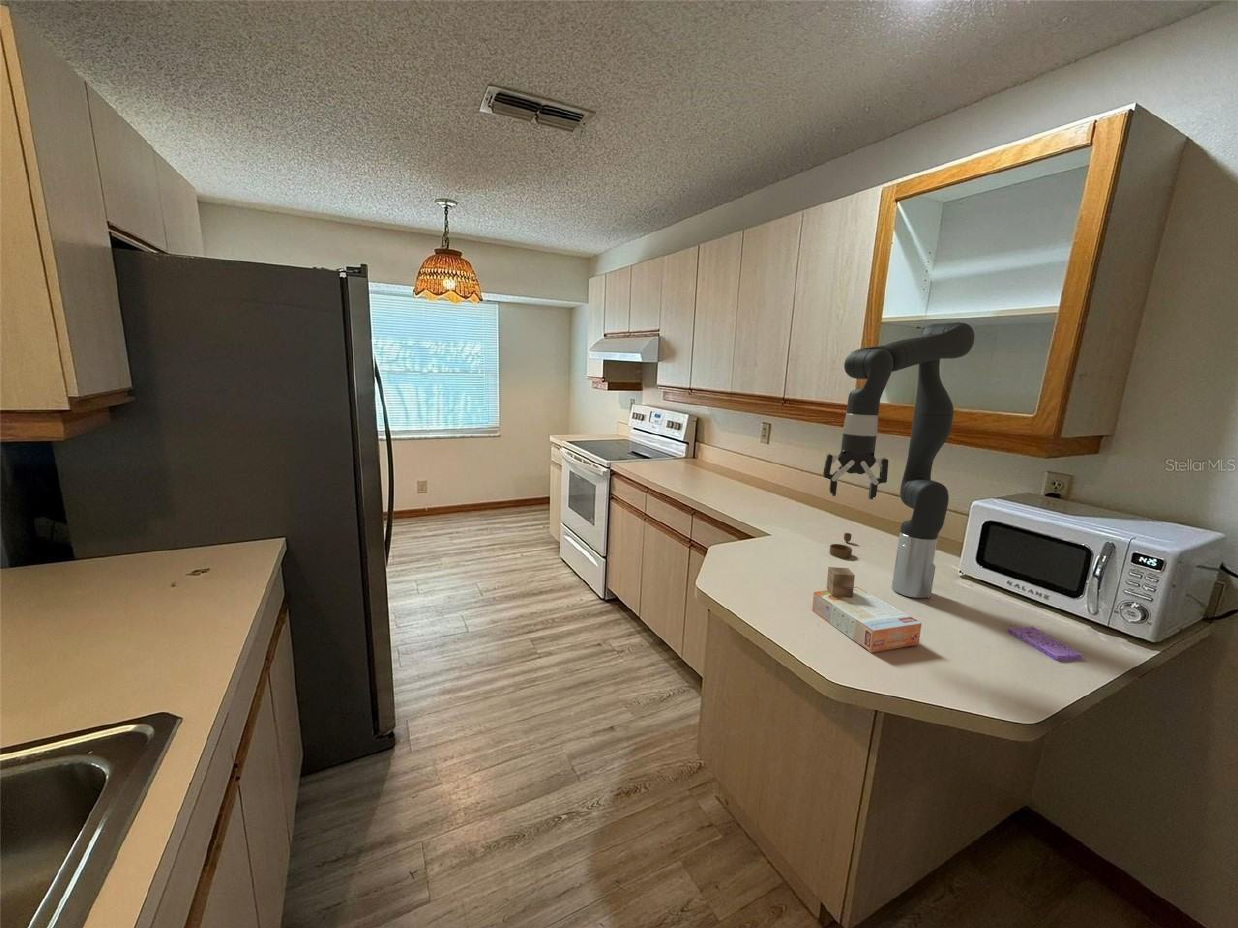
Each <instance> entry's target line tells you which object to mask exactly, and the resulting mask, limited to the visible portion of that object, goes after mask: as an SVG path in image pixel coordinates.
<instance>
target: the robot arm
mask: <svg viewBox="0 0 1238 928" xmlns="http://www.w3.org/2000/svg"><path fill="white" fill-rule="evenodd" d="M974 343H975V331H974V329H973V327H972V326H971V325H970V324H968V323H965V322H959V321H958V322H956V321H955V322H942V323H932V324H929V325H926V327H925V328H923V331H922V333H921V336H919V337H911V338H904V339H901V340H896V341H892V342H889V343H886V344H884V345H879V346H872V347H871V346H870V347H864V348H858V349H855V350H854V351H851V352H850V353H849V354H848V355H847V357H846V358H845V360H844V364H843V366H844V371H845V373H846V374H847V376H849V377H850V378H852V379H855V380H866V381H865V383H864V385H863V387H860V388H858V389H857V388H856V389H853V390H851V391H850V392H849V394H848V396H847V397H848V400H847V403H846V404H847V405H846V414H845V418H844V421H843V422H844V423H843V428H842V429H843V430H842V439H841V446H840V453H839V454H832V453H827V454H826V456H825V461H824V466H823V473H822V474H823V477H824V478H825V479H828V480H830V481H829V482H830V483H829V489H828V490H829V493H830V494H831V496H832V497H836V495H837V487H838V481H837V480H839V478H840V477H842V476H843V475H844V474H846V473H848V474H851V475H852V474H857V475H863V474H865V475H866V476H867V477H868V479H869V480H870V482H869V488H868V489H869V490H868V495H867V496H868V500H874V498H876V496H877V494H878V493H877V492H878V488H879V487H878V486H879V485H880V484H886V483H887V482H888V469H889V460H888V458H886V457H881V458H879V457H875V452H876V445H877V438H878V437H877V436H878V433H879V430H878V429H879V428H878V427H879V413H880V406H881V405H880V404H881V398H882V396H883V393H884V391H885V388H886V387H887V384H888V381H889V380H890V377H891V374H892V373H893V372H896V371H901V370H904V369H907V368H910V367H912V366H916V365H918V373H917V374H918V376H917V377H918V378H917V386H916V387H917V388H916V397H915V404H914V409H913V416H912V423H911V424H912V425H911V433H910V441H909V446H908V447H909V448H908V454H907V459H906V464H905V467H904V468H905V469H904V472H903V477H902V479H901V483H900V489H899V495H900V500H901V501H902V503H903V504H904V505H905V506H907V507H909V508H910V509H913V512H912V516H911V519H910V520H909V519H908V520H904V521H902V522H901V524H900V529H899V535H898V536H899V537H898V543H897V549H896V554H895V555H896V556H895V563H894V570H893V576H892V581H891V589H892V590H893V591H894V592H895V593H898V594H900V595H903V596H905V597H909V598H910V597H911V598H915V599H924V598H927V599H928V598H929V599H930V598H931V597H932V590H933V585H934V579H935V573H936V572H935V571H936V565H935V564H934V561H935V557H936V550H937V543H938V537H939V533H940V531H941V530H942V529H943V527H944V524H945V519H946V516H947V510H948V505H949V498H950V497H949V496H950V495H949V491H948V489H947V487H946V486H945V485H944V484H942V483H941V482H939V481H936V480H932V478H931V476H932V469H933V463H934V460H935V458H936V456H937V455H938V453H939V452H940V451H941V449H942V447H943V446H944V445H945V443H946V442H947V441H948V438H949V436H950V435H951V430H952V425H953V418H954V411H955V410H954V405H953V401H952V400H951V397H950V396H949V394H948V391H947V390H946V388H945V386H944V384H943V382H942V378H941V375H940V364H941V363H940V362H941V359H944V360H946V359H950V360H951V359H958V358H962V357H964V356H966V355H968V354H969V353H970V351H971V350H972V348H973V346H974ZM836 461H838V462H839V464H840V466H839V467H837V469H836V470H835V471H834V472H833V473H831V470H832V464H835V463H836ZM876 464H877V466H878V467H879V477H876V476H875V473H873V471H872V469H871V468H872V467H873V466H874V465H876Z"/></svg>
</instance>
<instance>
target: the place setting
mask: <svg viewBox="0 0 1238 928" xmlns="http://www.w3.org/2000/svg"><path fill="white" fill-rule="evenodd" d="M852 535H853V534H852V533H850V532H845V533H844V534H843V541H844V542H845V543H846V544H848V543H849V542H851V540H852ZM846 544H841V543H833V544H830V545H829V555H830V556H832V557H835V558H838V559H843V560H844V559H850V558H851V557H852V554H853V553H852V552H853V549H852V547H850V546H848V545H846Z"/></svg>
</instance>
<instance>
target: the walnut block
mask: <svg viewBox="0 0 1238 928" xmlns="http://www.w3.org/2000/svg"><path fill="white" fill-rule="evenodd" d="M827 570H828V571H827V581H826V589H827V590H828V591H829V593H830V594H831V596H832V597H848V598H853V589H854V587H855V586H854V585H855V576H856V575H855V574H854V573H853V571H852V570H851V569H850V568H849V567H834V566H833V567H832V566H828V569H827ZM827 590H826V591H827Z"/></svg>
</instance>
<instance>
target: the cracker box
mask: <svg viewBox="0 0 1238 928" xmlns="http://www.w3.org/2000/svg"><path fill="white" fill-rule="evenodd" d="M812 600H813V601H812V608H811V611H812V612H813V613H815V614H816V615H817V616H819V617H820V618H821V619H823V620H824V621H825V622H827V623H828V624H829V625H831V626H832V627H834V628H835V629H837V630H838V631H840V632H841V633H842V634H844V635H845V636H847V637H848V638H850V639H851V640H853V641H854V642H855V643H857V644H858V645H860V646H861V647H862V648H863V649H865V650H867V651H868V652H869V653H877V652H878V653H879V652H883V651H889V650H895V649H900V648H907V647H913V646H918V645H919V644H920V637H921V629H922V622H921V621H919V620H918V619H915V618H914V617H912V616H910V615H909V614H907V613H906V612H903V611H901V610H899V609H898V608H896V607H893V606H892V605H891V604H889V603H887V602H885V601H883V600H882V599H880V598H878V597H876V596H874V595H872V594H871V593H869V592H867V591H865V590H864V589H862V588H860V587H858V586H854V589H853V598H848V597H832V596H831V594H830V593H829V591H828V590H820V591H814V592H813V599H812Z"/></svg>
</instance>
